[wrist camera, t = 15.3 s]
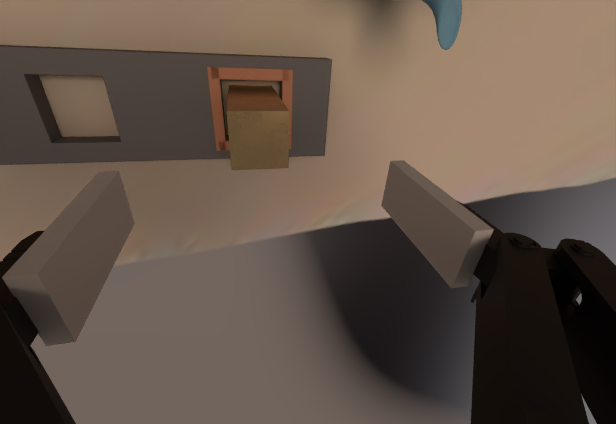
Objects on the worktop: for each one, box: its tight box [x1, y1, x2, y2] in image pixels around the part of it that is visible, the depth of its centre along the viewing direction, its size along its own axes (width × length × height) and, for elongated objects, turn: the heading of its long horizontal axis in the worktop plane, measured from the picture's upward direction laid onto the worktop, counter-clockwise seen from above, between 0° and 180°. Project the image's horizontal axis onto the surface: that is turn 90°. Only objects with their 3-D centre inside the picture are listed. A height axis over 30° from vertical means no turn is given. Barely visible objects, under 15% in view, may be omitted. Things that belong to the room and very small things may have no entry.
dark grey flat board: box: [0, 45, 332, 165], centre depth 30 cm, size 32×10×2 cm, turn 87°
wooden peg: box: [227, 85, 289, 170], centre depth 27 cm, size 4×4×12 cm
